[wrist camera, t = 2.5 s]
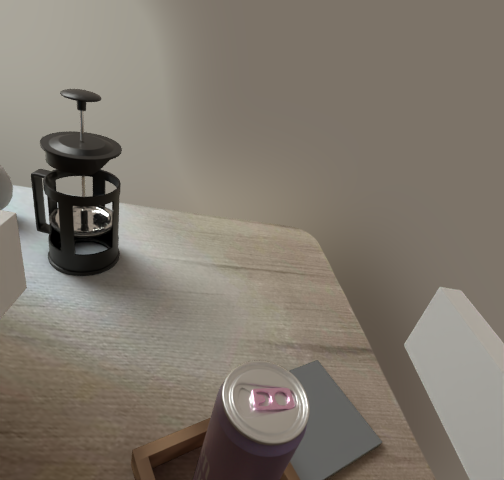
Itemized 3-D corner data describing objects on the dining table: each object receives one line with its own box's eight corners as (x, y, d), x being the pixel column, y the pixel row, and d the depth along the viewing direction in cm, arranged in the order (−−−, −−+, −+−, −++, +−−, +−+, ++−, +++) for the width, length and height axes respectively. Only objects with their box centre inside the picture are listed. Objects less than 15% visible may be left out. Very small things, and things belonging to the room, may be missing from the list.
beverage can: (263, 543, 28) (326, 443, 20) (187, 553, 27) (224, 449, 19) (251, 462, 33) (298, 357, 25) (186, 467, 32) (215, 356, 24)
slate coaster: (299, 496, 32) (301, 493, 31) (241, 392, 39) (242, 388, 39) (379, 445, 37) (382, 442, 37) (315, 363, 45) (317, 360, 45)
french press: (133, 247, 56) (142, 97, 44) (107, 283, 48) (109, 112, 36) (60, 229, 56) (49, 72, 44) (20, 263, 48) (-5, 82, 36)
